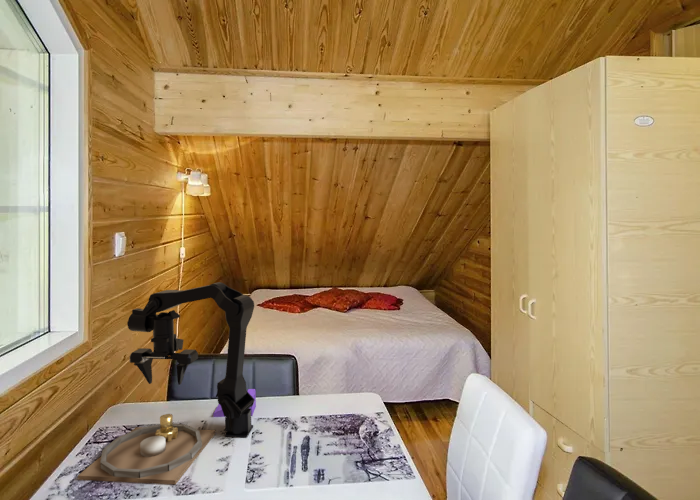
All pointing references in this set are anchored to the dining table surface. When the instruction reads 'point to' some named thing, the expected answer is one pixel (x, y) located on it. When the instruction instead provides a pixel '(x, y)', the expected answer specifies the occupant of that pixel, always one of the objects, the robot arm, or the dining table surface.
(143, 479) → the carrier
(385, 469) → the dining table surface
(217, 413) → the bracket
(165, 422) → the gear
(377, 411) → the dining table surface
